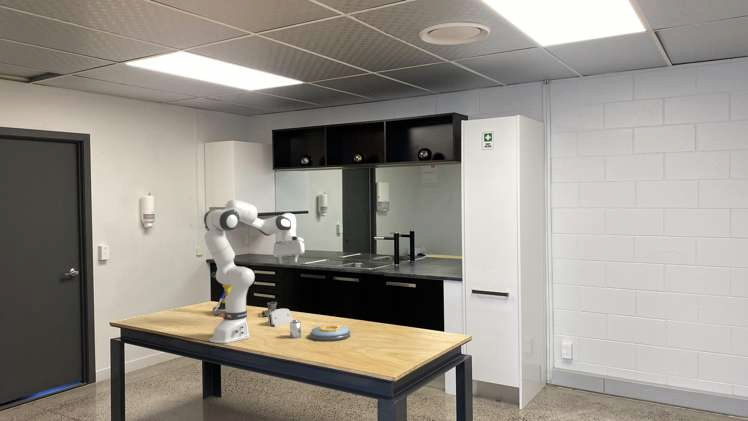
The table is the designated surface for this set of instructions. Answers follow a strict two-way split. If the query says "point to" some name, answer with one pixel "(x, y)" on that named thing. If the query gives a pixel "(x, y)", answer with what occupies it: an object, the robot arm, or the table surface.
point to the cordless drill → (221, 299)
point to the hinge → (280, 317)
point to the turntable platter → (329, 331)
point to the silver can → (295, 329)
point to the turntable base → (329, 338)
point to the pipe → (269, 308)
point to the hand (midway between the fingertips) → (288, 262)
